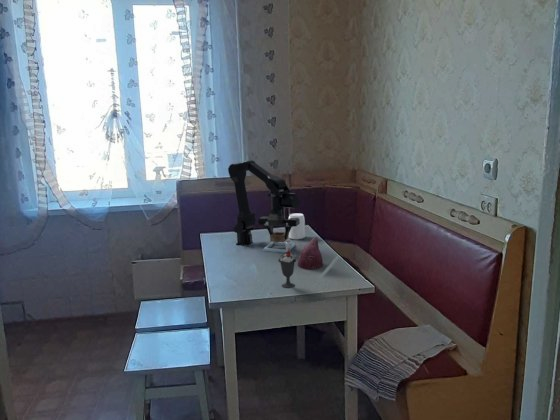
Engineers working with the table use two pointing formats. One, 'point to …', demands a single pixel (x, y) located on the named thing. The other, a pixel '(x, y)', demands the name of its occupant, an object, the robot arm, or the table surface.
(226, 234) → the table surface
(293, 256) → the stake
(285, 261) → the sundae
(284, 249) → the tray
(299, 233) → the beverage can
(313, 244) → the vegetable
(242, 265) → the table surface
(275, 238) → the ring
